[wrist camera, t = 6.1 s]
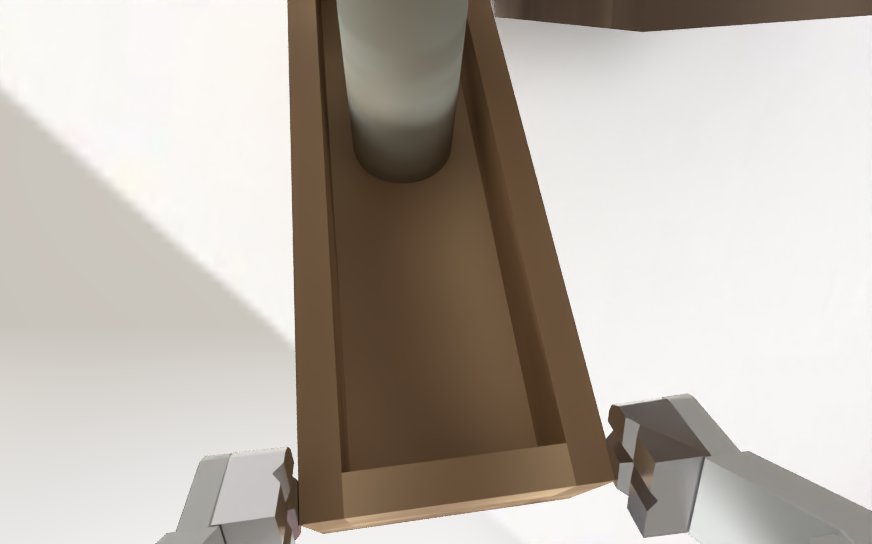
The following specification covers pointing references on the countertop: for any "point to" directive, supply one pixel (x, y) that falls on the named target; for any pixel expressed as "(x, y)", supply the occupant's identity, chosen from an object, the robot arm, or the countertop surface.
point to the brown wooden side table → (676, 12)
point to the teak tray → (425, 276)
